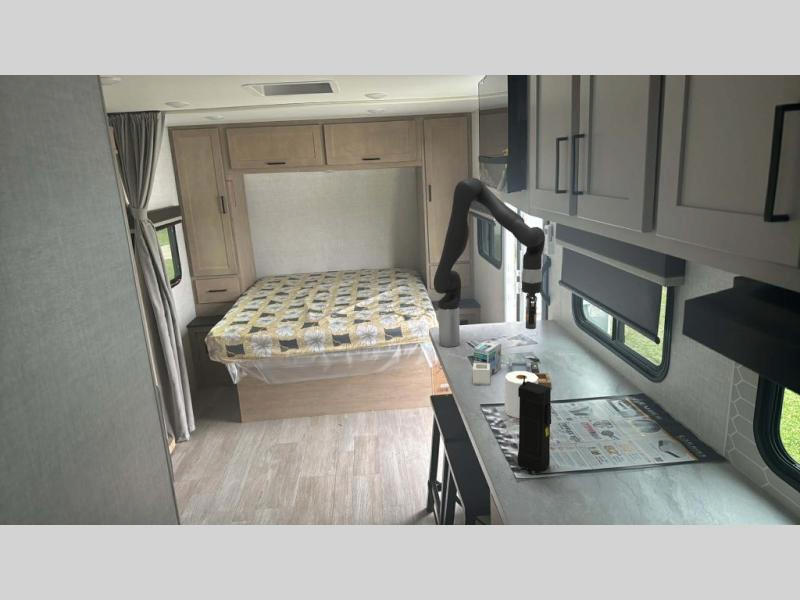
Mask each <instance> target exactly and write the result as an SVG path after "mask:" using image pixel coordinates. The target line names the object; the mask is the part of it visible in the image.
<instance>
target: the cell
mask: <svg viewBox="0 0 800 600" xmlns="http://www.w3.org/2000/svg"><path fill="white" fill-rule="evenodd" d="M537 308H538V307H537V306H536V314H535V318H534V324H529V323H528V318H529V315H528V309H527V306H525V329H527V330H535V329H537ZM530 312H534V310H531V311H530Z"/></svg>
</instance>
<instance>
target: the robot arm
mask: <svg viewBox="0 0 800 600" xmlns="http://www.w3.org/2000/svg"><path fill="white" fill-rule="evenodd" d="M452 197H453V198H452V206H451V207H452V208H451V212H450V213H451V214H450V218H449V222H448V226H447V230H446V234H445V238H444V242H443V248H442V252H441V256H440V260H439V263H438V265H437V268H436V271H435V274H434V277H433V288H434V290H435V292H436V293H438V294H443V297H442V298H440V299H439V300H438V302H437V312H438V316H437V317H438V343H439V345H440V346H441V347H445V348H453V347H457V346H459V345H460V342H461V341H460V340H461V339H460V336H461V335H460V302H461V295H462V281H461V279H462V278H461V276H460V274H459V272H458V271H456V270H453V267H454V265H455V264H456V263H457V261H458V260H459V259H460V257H461V256H462V254H463V253H464V252H465V250H466V248H467V244H468V240H469V236H470V228H469V227H470V226H469V222H468V219H469V212H470V208H471V206H472V203H473V202H477V203H479V204H481V205H482V206H484V207H485V208H486V209H487V210H488V211H489V213H490V214H491V216H492V217H493V219H494V220H495V221H496V222H497V223H498V224H499V225H500V226H501V227H502V228H505V230H507V231H508V232H510V233H511V234H512V235H513V237H514V238H515V239H516V240H517V242H519V243H520V244H521V245H523V246H524V247H526V248H525V249H526V251H525V253H524V254H523V256H522V257H523V258H522V272H521V292H522V293H525V294H526V296H525V301H526V302H525V303H526V306H527V309H528V315H529V318H528V323H529V324H534V318H535V314H536V313H537V311H536V307H537V302H538V297H537V295H536V294H539V293H542V289H543V288H542V287H543V270H542V263H543V259H542V258H543V252H544V247H545V244H546V238H545V237H546V236H545V232H544V230H543V229H542V228H541V227H539V226H532V227H530V226H529V225H528V224H527V223H525V219H524V218H523V217H522V216H521V215H519V214H518V213H517V212H515V211H514V210H513V209H512V208H510V207H509V206H508V205H506V204H505V203H504V202H502V200H500V199H499V197H497V196H496V195H495V194H494V193H493V191H491V190H490V189H489V188H488V187H487V186H486V185H485V184H484V183H483V182H482V180H480V179H479V178H477V177H467V178H466V179H463V180H461V181H459V182H457V183H456V185H455V188H454V191H453V196H452ZM526 306H525V307H526ZM531 310H534V312H530V311H531Z"/></svg>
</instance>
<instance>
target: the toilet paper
mask: <svg viewBox="0 0 800 600" xmlns="http://www.w3.org/2000/svg"><path fill="white" fill-rule="evenodd" d="M523 376H525V382H527V381H529V382H533V383H536V384H538V377H537V376H536V375H535V374H534V373H530V372H526V371H514V372H510V373H507V372H506V374H505V376H504V412H505V413H506V414H507V416H509V417H511V418H512V417H513V418H515V419H519V408H520V397H518V388H519V386H520V385H521V384H523V382H524V377H523Z"/></svg>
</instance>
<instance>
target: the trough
mask: <svg viewBox="0 0 800 600" xmlns="http://www.w3.org/2000/svg"><path fill="white" fill-rule="evenodd" d="M534 374H535V375H536V376H537V377H538V384H539V385H543V386H546V387H549V388H551V389H552V381H551V377H550V374H549V373H544V372H543V373H542V372H540V373H534Z"/></svg>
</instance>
